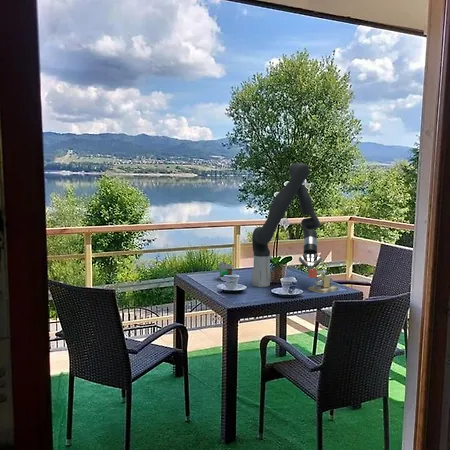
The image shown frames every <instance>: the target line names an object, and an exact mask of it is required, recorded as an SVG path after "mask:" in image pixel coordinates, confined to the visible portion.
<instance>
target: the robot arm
mask: <svg viewBox="0 0 450 450" xmlns="http://www.w3.org/2000/svg"><path fill="white" fill-rule="evenodd" d="M288 173H289V176H290V179H289V181H288V182H287V184H285V186H283V187H282V189H280V191H279V192H278V193H277V194H276V195H275V197H274V198H273V201H272V202H271V204H270V207H269V212H268V215H267V219H266V220H265V222H264V223H263V225H262V226H257V227H256V228H255V229H253V231H252V235H251V238H252V239H251V240H252V241H251V242H252V243H251V245H252V246H251V247H252V251H253V268H252V269H251V275H252V278H251V286H253V287H258V288H266V287H269V286H270V284H271V280H270V277H271V275H270V274H271V251H270V248H269V243H270V242H271V241H272V240H273V237H274V235H275V232H276V230H277V227H278V226H279V224H280V223H281V220H282V219H283V217H284V215H285V214H286V212H288V211H287V210H288V209H289V206H290V205H291V203H292V201H293V200H294V198H295V196H296V195H297V199H298V203H299V208H300V212H301V214H302V215H303V216H310V217H307V218H306V217H305V218H303V219H301V222H300V225H301V228H302V231H303V254H302V256H300V257H298V261H299V263H301V265H302V266H303V267H304V268H307V274H309V269H313V268H317V266H319V264H320V263H322V259H323V258H322V257H320V256H319V255H318V241H317V231H316V230H318V229H319V228H320V226H321V223H320V220H319V218H318V216H317V214H316V212H315V210H314V205H313V202H312V198H311V196H310V193H309V191H308V189H307V188H306V185H305V184H304V185H302V183H303V182H304V183H305V181H306V180H307V178H308V176H309V174H310V168H309V166H308V164H306V163H304V162H296V163H292V164H291V165H290V166H289V168H288Z"/></svg>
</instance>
